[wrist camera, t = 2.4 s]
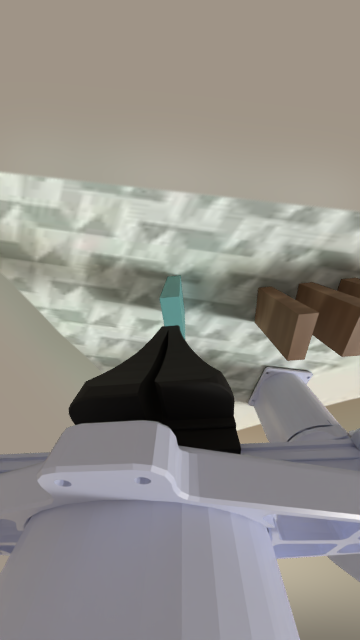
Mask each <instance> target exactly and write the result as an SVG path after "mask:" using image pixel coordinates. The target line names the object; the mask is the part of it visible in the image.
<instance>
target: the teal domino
mask: <svg viewBox="0 0 360 640" xmlns="http://www.w3.org/2000/svg"><path fill="white" fill-rule="evenodd" d="M160 303H161V309H162V314H163V320H164V326H174V325H179V326H180V331H181V333H182V336H183V337H184V339H185V312H184V303H183V293H182V284H181V275H179V276H170V277H167V280H166V283H165V285H164V288H163V291H162V293H161V296H160Z"/></svg>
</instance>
